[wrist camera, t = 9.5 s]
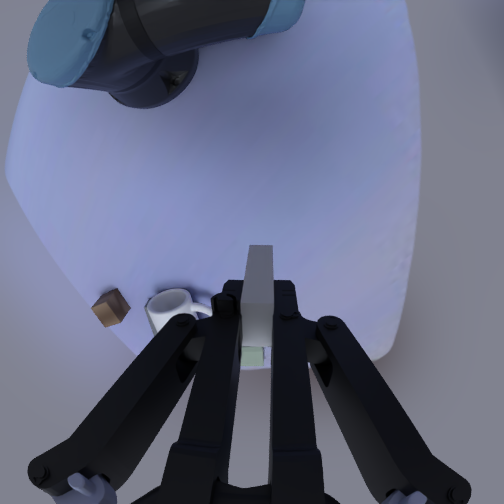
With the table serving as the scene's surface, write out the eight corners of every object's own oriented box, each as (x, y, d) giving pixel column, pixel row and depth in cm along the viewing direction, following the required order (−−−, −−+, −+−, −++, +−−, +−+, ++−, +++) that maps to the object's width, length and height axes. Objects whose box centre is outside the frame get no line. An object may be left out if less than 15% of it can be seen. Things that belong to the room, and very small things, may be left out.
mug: (172, 330, 52) (160, 357, 45) (155, 289, 48) (139, 315, 41) (228, 327, 51) (223, 356, 44) (216, 283, 47) (207, 310, 40)
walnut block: (102, 294, 50) (90, 308, 46) (117, 288, 49) (106, 302, 45) (115, 313, 52) (105, 327, 47) (130, 307, 51) (120, 322, 46)
